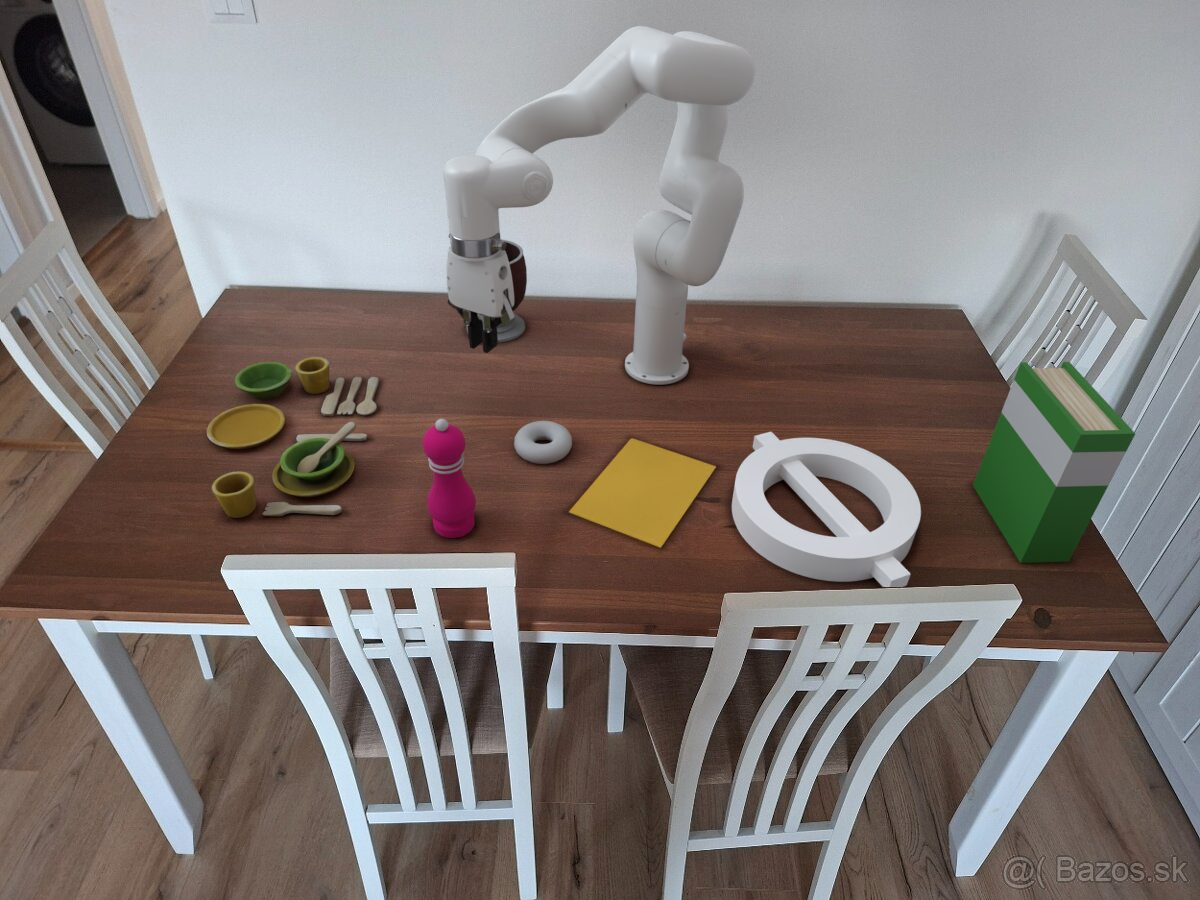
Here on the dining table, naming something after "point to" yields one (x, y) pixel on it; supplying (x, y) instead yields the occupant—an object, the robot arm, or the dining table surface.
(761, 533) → the ring with crossbar
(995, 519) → the hardback book
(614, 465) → the cloth
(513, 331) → the mate gourd
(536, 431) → the donut
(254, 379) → the tableware set
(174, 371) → the dining table surface
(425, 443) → the pepper mill
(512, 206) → the robot arm
